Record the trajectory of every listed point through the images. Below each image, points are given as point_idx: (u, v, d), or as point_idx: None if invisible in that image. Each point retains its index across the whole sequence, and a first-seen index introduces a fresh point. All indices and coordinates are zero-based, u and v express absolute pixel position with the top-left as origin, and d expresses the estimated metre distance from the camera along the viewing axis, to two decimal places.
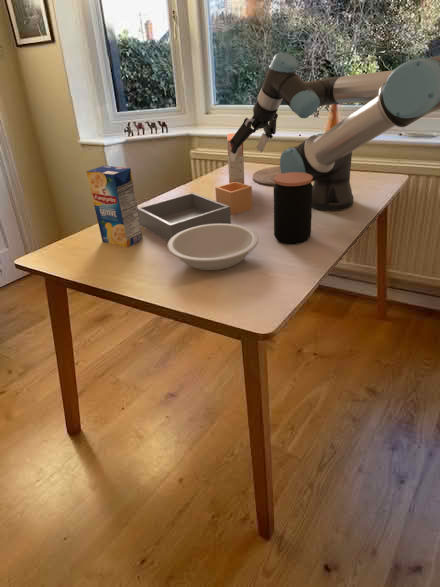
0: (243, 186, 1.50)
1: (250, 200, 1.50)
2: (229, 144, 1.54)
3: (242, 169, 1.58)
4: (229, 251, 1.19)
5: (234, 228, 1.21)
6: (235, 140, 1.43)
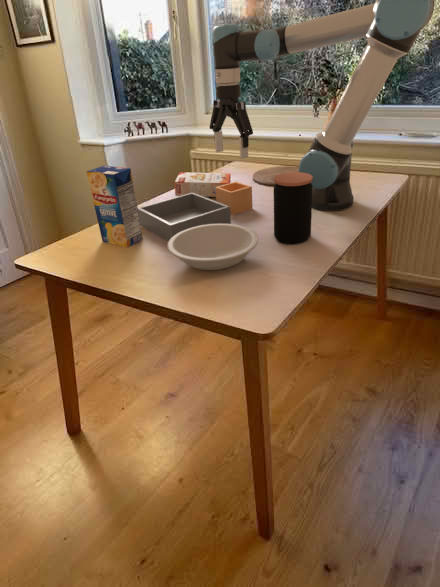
0: (243, 186, 1.50)
1: (250, 200, 1.50)
2: (178, 194, 1.64)
3: (202, 183, 1.62)
4: (229, 251, 1.19)
5: (234, 228, 1.21)
6: (249, 127, 1.32)
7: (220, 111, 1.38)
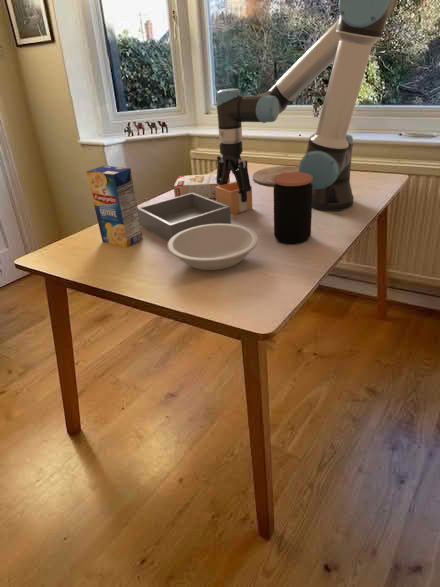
0: None
1: (250, 200, 1.50)
2: None
3: (201, 185, 1.62)
4: (229, 251, 1.19)
5: (234, 228, 1.21)
6: (248, 185, 1.42)
7: (224, 166, 1.46)
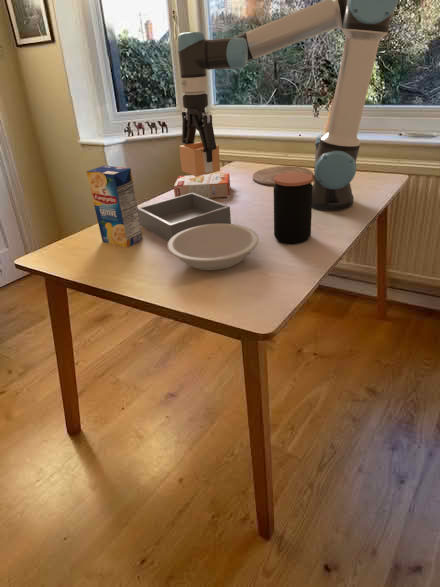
0: None
1: (217, 161, 1.36)
2: None
3: (201, 185, 1.62)
4: (229, 251, 1.19)
5: (234, 228, 1.21)
6: (213, 142, 1.29)
7: (188, 121, 1.32)
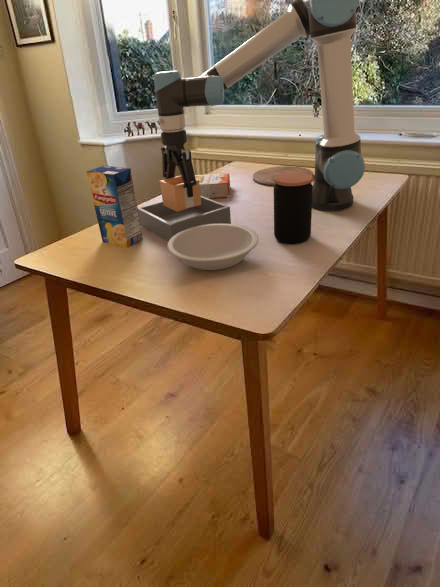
0: None
1: (198, 195, 1.36)
2: None
3: (201, 185, 1.62)
4: (229, 251, 1.19)
5: (234, 228, 1.21)
6: (193, 178, 1.29)
7: (168, 157, 1.32)
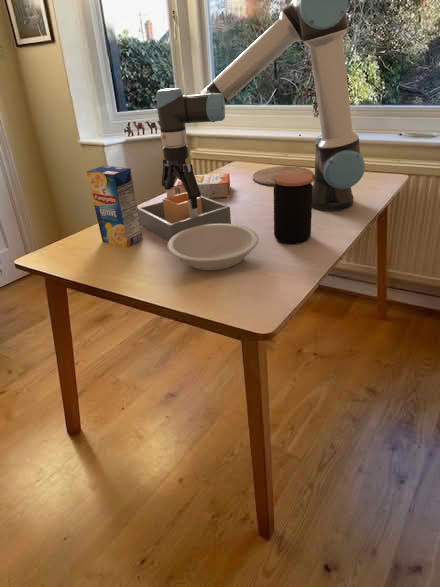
0: None
1: (200, 212, 1.39)
2: None
3: (201, 185, 1.62)
4: (229, 251, 1.19)
5: (234, 228, 1.21)
6: (196, 190, 1.29)
7: (169, 171, 1.35)
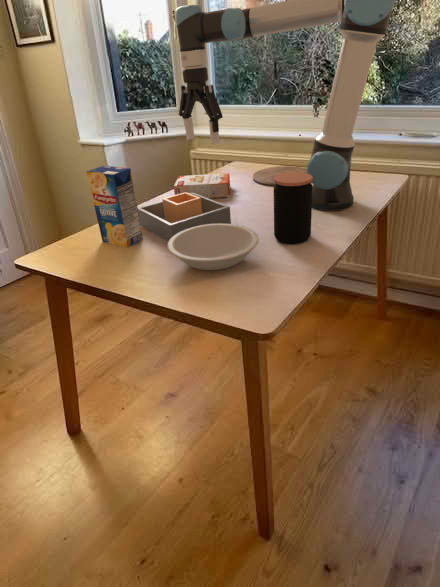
0: (192, 197, 1.40)
1: (200, 212, 1.39)
2: None
3: (201, 185, 1.62)
4: (229, 251, 1.19)
5: (234, 228, 1.21)
6: (218, 111, 1.28)
7: (188, 96, 1.34)
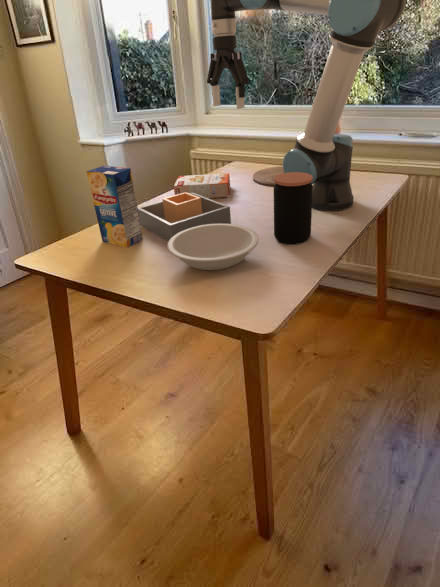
0: (192, 197, 1.40)
1: (200, 212, 1.39)
2: None
3: (201, 185, 1.62)
4: (229, 251, 1.19)
5: (234, 228, 1.21)
6: (245, 76, 1.37)
7: (217, 63, 1.43)
